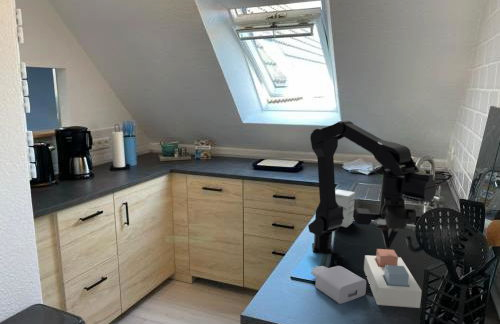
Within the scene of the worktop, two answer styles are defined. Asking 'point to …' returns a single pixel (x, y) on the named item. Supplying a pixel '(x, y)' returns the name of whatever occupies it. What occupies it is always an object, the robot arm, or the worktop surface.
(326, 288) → the charger
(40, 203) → the worktop surface
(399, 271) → the slate key
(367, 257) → the key console
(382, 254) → the brick key
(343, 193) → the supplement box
